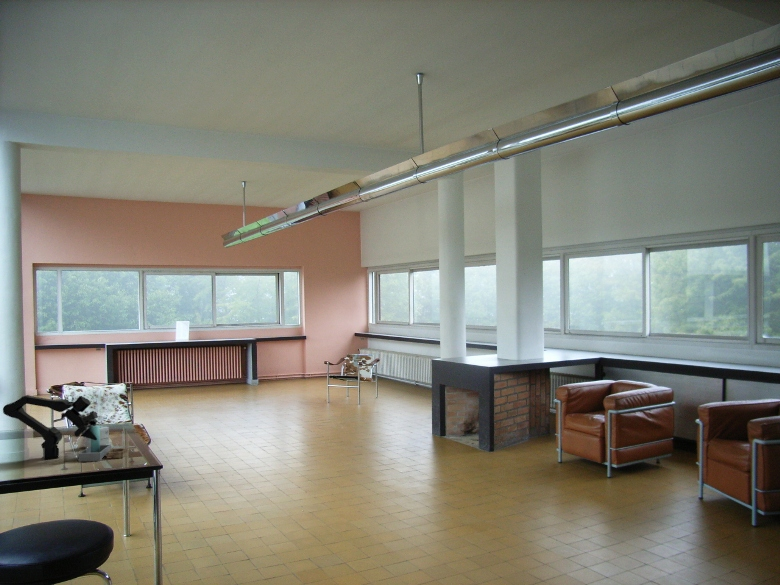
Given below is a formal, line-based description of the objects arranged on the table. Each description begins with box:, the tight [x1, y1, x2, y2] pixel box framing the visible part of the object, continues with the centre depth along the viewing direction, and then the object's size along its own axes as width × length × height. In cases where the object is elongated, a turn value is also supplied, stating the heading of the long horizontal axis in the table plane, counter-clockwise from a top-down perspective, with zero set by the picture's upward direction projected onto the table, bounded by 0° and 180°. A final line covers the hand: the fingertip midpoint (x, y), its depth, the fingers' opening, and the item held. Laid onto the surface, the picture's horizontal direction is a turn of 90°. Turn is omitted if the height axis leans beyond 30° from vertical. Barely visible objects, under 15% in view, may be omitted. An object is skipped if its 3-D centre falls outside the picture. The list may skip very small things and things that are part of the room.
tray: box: [78, 444, 112, 462], centre depth 329 cm, size 11×18×4 cm, turn 7°
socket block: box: [106, 447, 129, 459], centre depth 330 cm, size 8×8×3 cm
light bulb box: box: [84, 425, 110, 448], centre depth 350 cm, size 11×7×11 cm, turn 146°
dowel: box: [91, 425, 101, 452], centre depth 329 cm, size 4×4×13 cm
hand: (98, 438), depth 329 cm, fingers closed on dowel, 4 cm apart
